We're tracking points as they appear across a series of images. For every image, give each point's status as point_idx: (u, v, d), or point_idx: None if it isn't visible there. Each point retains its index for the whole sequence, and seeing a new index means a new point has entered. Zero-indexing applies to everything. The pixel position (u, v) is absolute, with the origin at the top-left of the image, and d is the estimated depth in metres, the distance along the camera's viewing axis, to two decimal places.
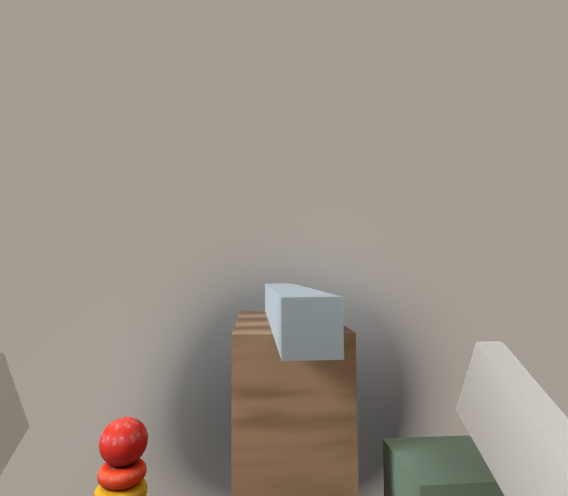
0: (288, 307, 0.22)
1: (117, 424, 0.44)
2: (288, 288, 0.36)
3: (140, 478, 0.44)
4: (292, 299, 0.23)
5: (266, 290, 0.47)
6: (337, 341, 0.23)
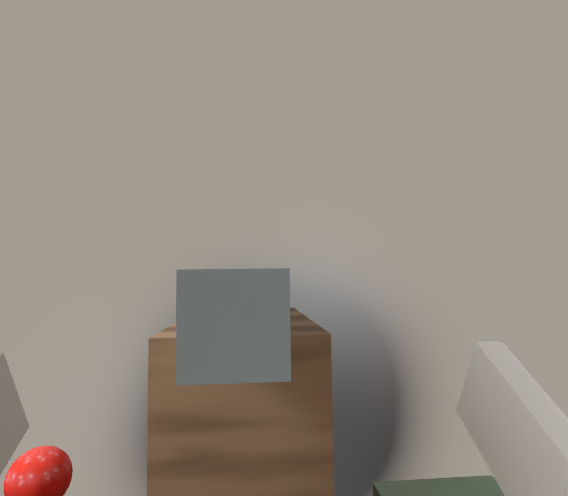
0: (189, 287, 0.12)
1: (28, 457, 0.34)
2: None
3: None
4: (196, 273, 0.12)
5: None
6: (278, 348, 0.12)
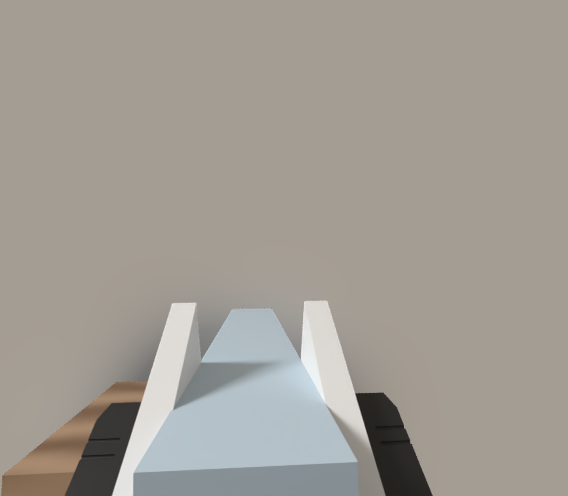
0: None
1: None
2: (247, 337, 0.19)
3: None
4: (173, 480, 0.06)
5: None
6: None
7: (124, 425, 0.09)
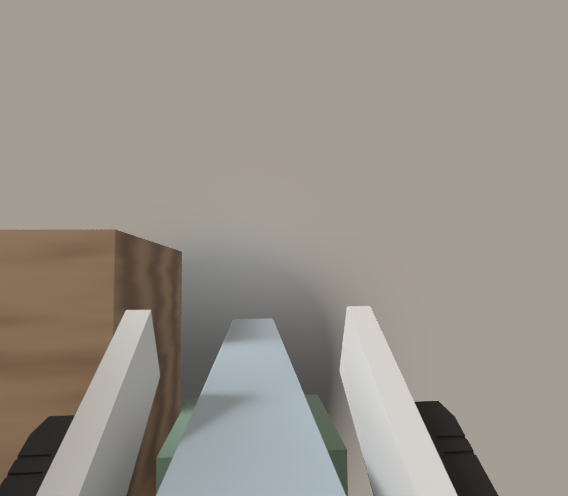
0: None
1: None
2: (248, 358, 0.19)
3: None
4: None
5: None
6: None
7: (58, 440, 0.09)
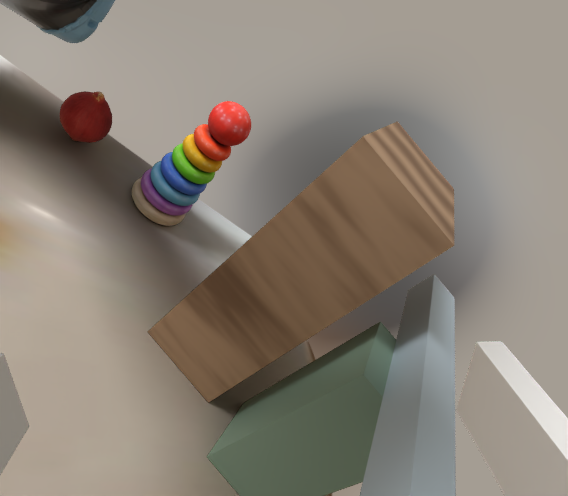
0: None
1: (234, 108, 0.46)
2: (438, 376, 0.30)
3: (219, 159, 0.49)
4: None
5: (426, 297, 0.40)
6: None
7: None
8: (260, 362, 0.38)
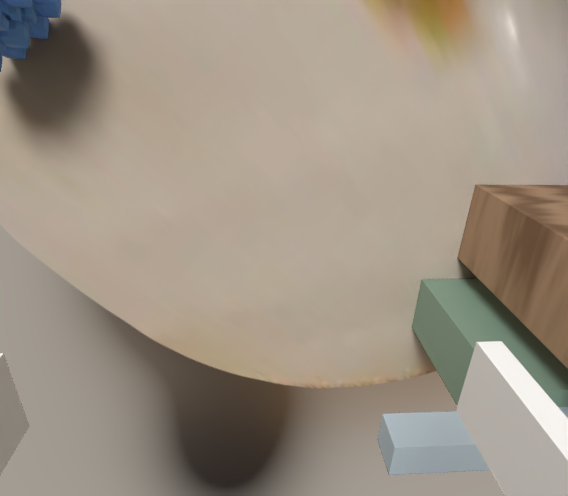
0: (392, 445, 0.34)
1: None
2: None
3: None
4: (393, 451, 0.34)
5: None
6: (381, 446, 0.37)
7: None
8: (496, 291, 0.45)
